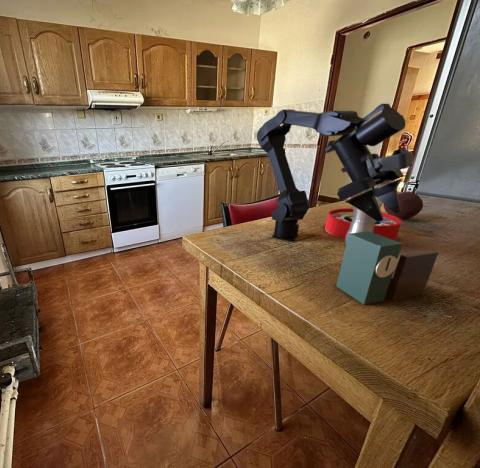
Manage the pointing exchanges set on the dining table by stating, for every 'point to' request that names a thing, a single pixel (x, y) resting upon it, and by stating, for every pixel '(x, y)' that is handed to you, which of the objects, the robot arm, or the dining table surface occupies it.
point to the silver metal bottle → (361, 221)
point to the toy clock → (342, 220)
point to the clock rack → (411, 274)
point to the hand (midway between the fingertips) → (389, 216)
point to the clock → (368, 266)
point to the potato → (407, 205)
